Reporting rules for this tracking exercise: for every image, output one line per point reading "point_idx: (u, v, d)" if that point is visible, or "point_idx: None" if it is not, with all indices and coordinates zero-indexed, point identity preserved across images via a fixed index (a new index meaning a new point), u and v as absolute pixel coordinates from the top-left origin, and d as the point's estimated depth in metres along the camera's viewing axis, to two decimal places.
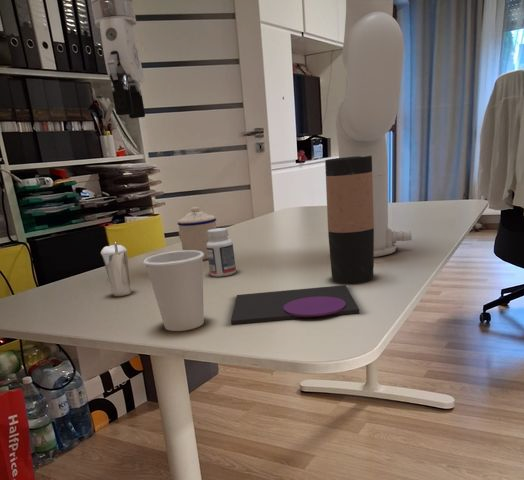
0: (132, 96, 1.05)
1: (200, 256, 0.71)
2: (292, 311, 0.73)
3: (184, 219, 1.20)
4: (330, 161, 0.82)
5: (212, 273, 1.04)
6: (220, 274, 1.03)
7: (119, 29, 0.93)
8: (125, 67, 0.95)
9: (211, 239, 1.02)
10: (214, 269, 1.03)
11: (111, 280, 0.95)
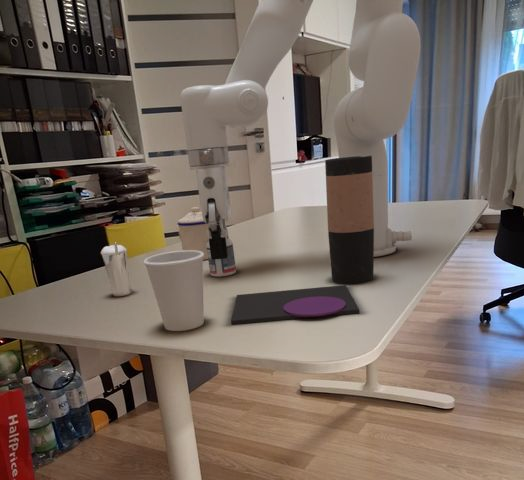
0: None
1: (200, 256, 0.71)
2: (292, 311, 0.73)
3: (184, 219, 1.20)
4: (330, 161, 0.82)
5: (212, 273, 1.04)
6: (220, 274, 1.03)
7: (217, 178, 0.94)
8: (222, 218, 0.97)
9: None
10: (214, 269, 1.03)
11: (111, 280, 0.95)
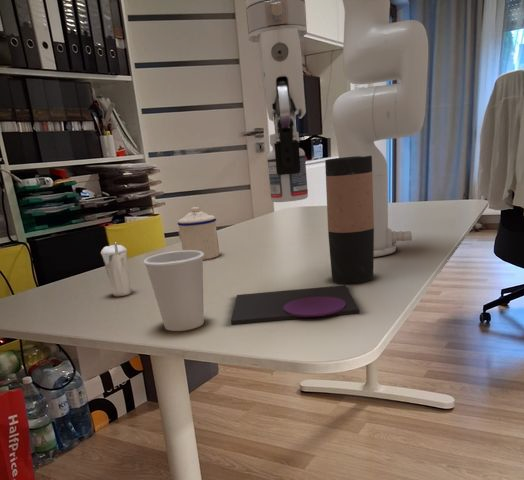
0: None
1: (200, 256, 0.71)
2: (292, 311, 0.73)
3: (184, 219, 1.20)
4: (330, 161, 0.82)
5: (275, 197, 0.73)
6: (287, 198, 0.72)
7: (292, 44, 0.63)
8: (296, 109, 0.66)
9: None
10: (279, 191, 0.72)
11: (111, 280, 0.95)
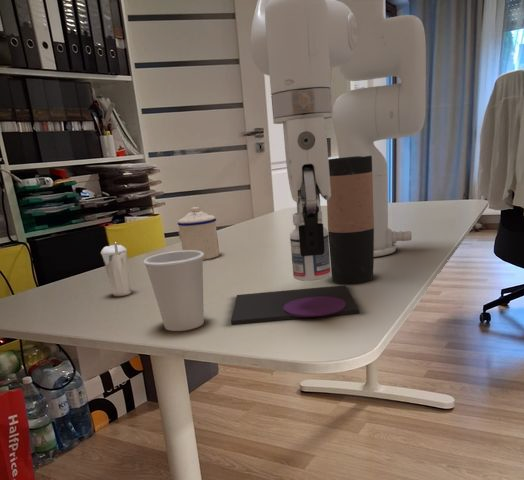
0: None
1: (200, 256, 0.71)
2: (292, 311, 0.73)
3: (184, 219, 1.20)
4: (330, 161, 0.82)
5: (298, 276, 0.72)
6: (310, 277, 0.71)
7: (319, 133, 0.63)
8: (322, 195, 0.66)
9: None
10: (302, 271, 0.71)
11: (111, 280, 0.95)
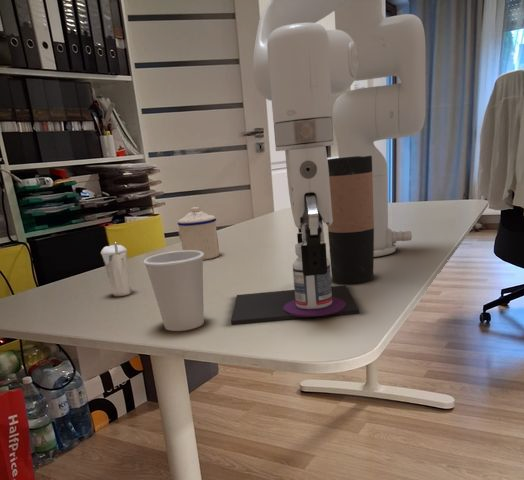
0: None
1: (200, 256, 0.71)
2: (292, 311, 0.73)
3: (184, 219, 1.20)
4: (330, 161, 0.82)
5: (300, 305, 0.74)
6: (313, 306, 0.73)
7: (321, 162, 0.64)
8: (324, 214, 0.66)
9: (301, 257, 0.72)
10: (305, 300, 0.73)
11: (111, 280, 0.95)
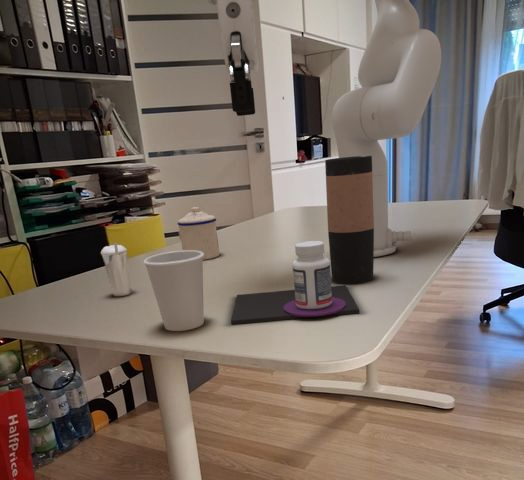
0: None
1: (200, 256, 0.71)
2: (292, 311, 0.73)
3: (184, 219, 1.20)
4: (330, 161, 0.82)
5: (300, 305, 0.74)
6: (313, 306, 0.73)
7: (244, 3, 0.74)
8: (248, 52, 0.76)
9: (301, 257, 0.72)
10: (305, 300, 0.73)
11: (111, 280, 0.95)
